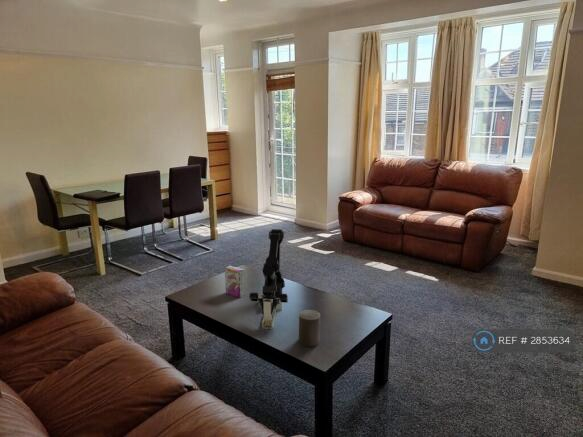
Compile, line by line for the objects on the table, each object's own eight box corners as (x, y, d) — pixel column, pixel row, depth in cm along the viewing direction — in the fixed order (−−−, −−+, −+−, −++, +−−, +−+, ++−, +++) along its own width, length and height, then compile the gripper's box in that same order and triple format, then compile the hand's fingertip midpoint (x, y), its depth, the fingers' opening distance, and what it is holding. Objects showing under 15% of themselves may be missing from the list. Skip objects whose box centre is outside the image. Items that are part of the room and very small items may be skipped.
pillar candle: (304, 349, 182) (304, 318, 179) (295, 338, 191) (295, 309, 187) (323, 344, 186) (324, 314, 182) (313, 334, 195) (314, 305, 191)
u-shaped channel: (266, 314, 214) (266, 309, 213) (276, 314, 214) (276, 309, 213) (262, 328, 200) (261, 322, 199) (272, 328, 200) (272, 323, 199)
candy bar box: (225, 293, 239) (224, 267, 235) (231, 290, 243) (229, 265, 239) (240, 298, 233) (239, 271, 229) (245, 295, 237) (244, 268, 233)
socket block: (264, 305, 224) (264, 295, 223) (282, 306, 223) (282, 296, 222) (263, 309, 219) (263, 299, 218) (281, 310, 218) (281, 300, 217)
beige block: (267, 314, 213) (267, 290, 209) (274, 314, 212) (273, 291, 209) (264, 326, 201) (263, 301, 197) (271, 326, 200) (270, 301, 197)
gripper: (249, 277, 200) (245, 308, 193) (287, 278, 199) (285, 309, 191) (252, 285, 210) (249, 315, 202) (288, 287, 208) (286, 317, 201)
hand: (267, 314), depth 199 cm, fingers closed on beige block, 3 cm apart
